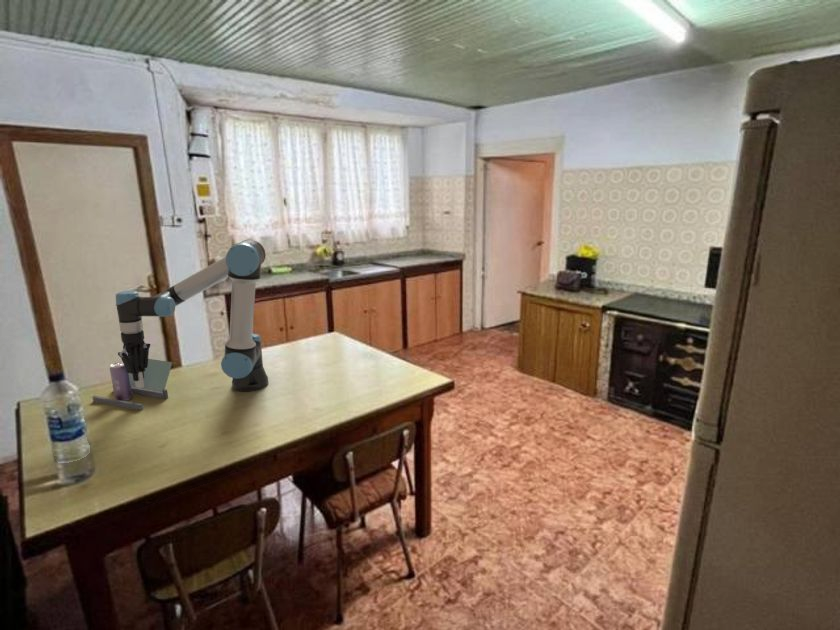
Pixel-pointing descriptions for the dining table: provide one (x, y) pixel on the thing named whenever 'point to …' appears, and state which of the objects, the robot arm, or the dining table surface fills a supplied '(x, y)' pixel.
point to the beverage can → (120, 382)
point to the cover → (154, 375)
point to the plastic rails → (130, 404)
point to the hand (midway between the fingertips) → (140, 387)
